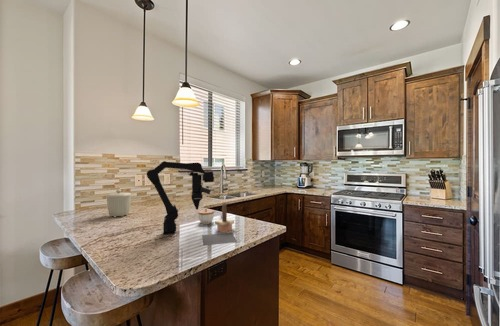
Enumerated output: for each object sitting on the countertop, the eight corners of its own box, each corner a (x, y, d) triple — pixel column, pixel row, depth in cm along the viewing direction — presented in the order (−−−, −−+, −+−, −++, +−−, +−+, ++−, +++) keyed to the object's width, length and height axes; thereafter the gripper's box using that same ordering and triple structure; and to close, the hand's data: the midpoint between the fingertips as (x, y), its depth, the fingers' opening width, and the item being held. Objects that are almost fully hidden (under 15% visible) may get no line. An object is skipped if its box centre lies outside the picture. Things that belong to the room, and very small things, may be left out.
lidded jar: (210, 225, 144) (210, 210, 144) (195, 224, 146) (195, 210, 146) (216, 221, 155) (216, 207, 155) (202, 220, 157) (201, 207, 157)
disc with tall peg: (221, 226, 124) (221, 205, 124) (211, 222, 133) (210, 202, 133) (237, 222, 132) (237, 202, 132) (227, 219, 141) (226, 200, 141)
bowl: (218, 232, 127) (218, 225, 127) (217, 228, 135) (216, 221, 136) (232, 231, 129) (232, 224, 129) (230, 227, 138) (230, 220, 138)
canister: (133, 216, 172) (133, 189, 172) (105, 219, 162) (105, 191, 162) (130, 212, 187) (130, 187, 187) (105, 215, 177) (105, 189, 177)
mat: (203, 246, 107) (203, 245, 107) (202, 235, 122) (202, 235, 122) (237, 242, 111) (237, 242, 111) (232, 233, 126) (232, 232, 126)
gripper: (211, 183, 128) (211, 210, 128) (209, 181, 147) (209, 204, 146) (191, 184, 126) (191, 211, 126) (191, 181, 144) (192, 205, 144)
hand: (197, 208), depth 135 cm, fingers open, 9 cm apart
